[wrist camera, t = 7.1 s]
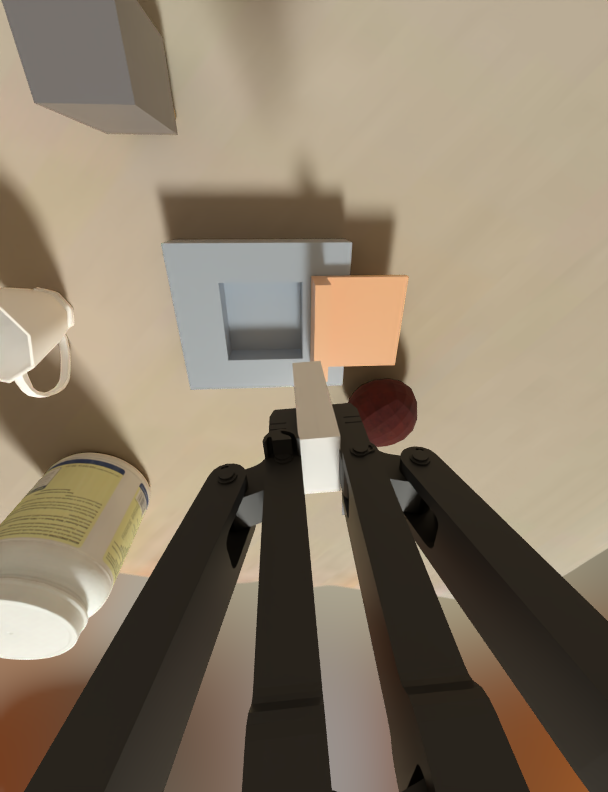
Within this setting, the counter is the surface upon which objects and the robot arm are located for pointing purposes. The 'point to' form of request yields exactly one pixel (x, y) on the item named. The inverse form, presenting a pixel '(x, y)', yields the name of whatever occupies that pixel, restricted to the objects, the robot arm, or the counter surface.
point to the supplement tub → (66, 551)
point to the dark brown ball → (386, 410)
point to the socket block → (248, 306)
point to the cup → (33, 335)
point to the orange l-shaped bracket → (356, 319)
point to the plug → (95, 63)
